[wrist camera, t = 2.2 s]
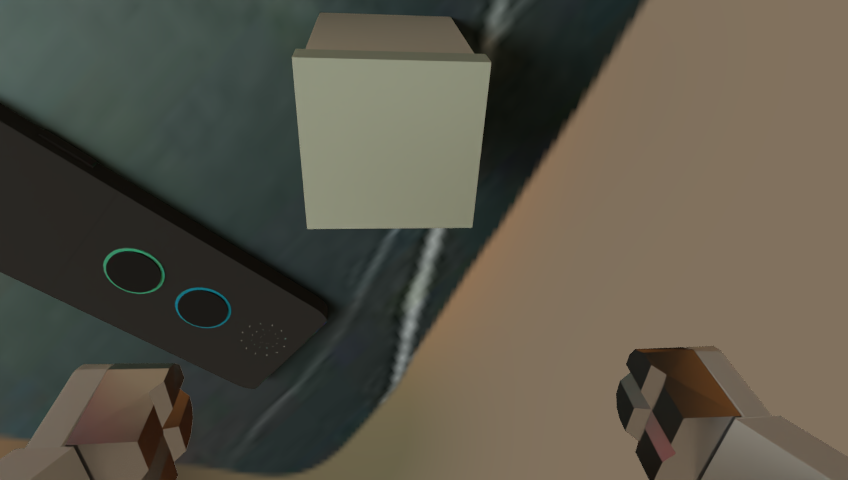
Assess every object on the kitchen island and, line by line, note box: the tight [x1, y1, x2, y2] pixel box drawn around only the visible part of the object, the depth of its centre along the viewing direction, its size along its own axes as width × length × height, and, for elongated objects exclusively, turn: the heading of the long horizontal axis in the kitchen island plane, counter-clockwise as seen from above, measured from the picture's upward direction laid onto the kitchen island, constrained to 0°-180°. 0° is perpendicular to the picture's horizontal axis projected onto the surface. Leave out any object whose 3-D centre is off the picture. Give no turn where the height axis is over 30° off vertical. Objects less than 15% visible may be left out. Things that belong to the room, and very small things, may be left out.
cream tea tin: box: [292, 12, 491, 229], centre depth 21 cm, size 6×6×8 cm
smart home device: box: [0, 104, 328, 389], centre depth 28 cm, size 8×2×20 cm
